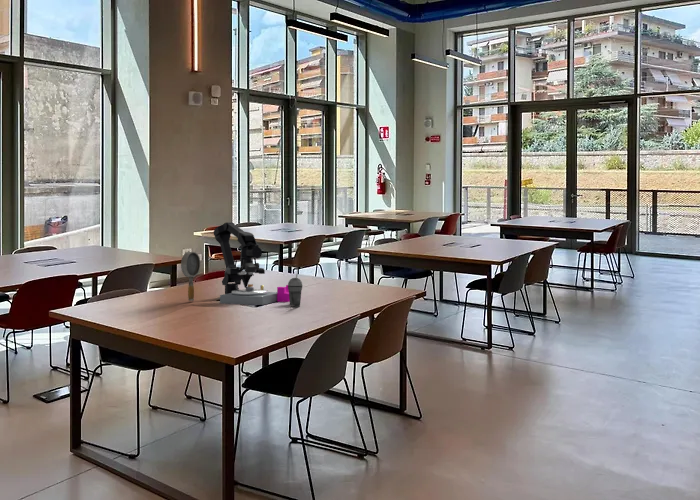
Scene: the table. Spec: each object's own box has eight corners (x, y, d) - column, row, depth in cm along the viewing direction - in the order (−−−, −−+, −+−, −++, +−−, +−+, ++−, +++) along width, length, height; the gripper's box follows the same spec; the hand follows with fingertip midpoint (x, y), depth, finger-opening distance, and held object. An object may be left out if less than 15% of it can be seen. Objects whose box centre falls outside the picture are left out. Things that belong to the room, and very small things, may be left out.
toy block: (288, 302, 325) (288, 287, 325) (277, 301, 327) (277, 287, 327) (298, 299, 340) (298, 285, 340) (287, 298, 341) (287, 284, 341)
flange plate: (233, 291, 334) (233, 284, 334) (268, 291, 336) (268, 284, 336) (230, 295, 315) (230, 287, 315) (267, 294, 317) (267, 287, 317)
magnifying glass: (195, 299, 337) (195, 251, 336) (200, 299, 336) (200, 251, 335) (181, 301, 324) (180, 252, 324) (186, 301, 323) (186, 252, 323)
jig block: (220, 303, 318) (220, 295, 318) (241, 298, 340) (241, 291, 340) (262, 304, 311) (262, 296, 311) (281, 300, 333) (281, 292, 333)
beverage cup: (287, 308, 318) (288, 268, 317) (302, 308, 318) (302, 268, 317) (287, 310, 310) (287, 269, 310) (302, 310, 311) (302, 269, 310)
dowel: (259, 292, 333) (259, 285, 333) (261, 292, 335) (261, 285, 335) (262, 292, 333) (262, 285, 333) (264, 292, 334) (264, 285, 334)
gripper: (234, 258, 320) (233, 289, 321) (269, 258, 330) (268, 288, 330) (226, 257, 330) (226, 287, 330) (260, 257, 340) (260, 286, 340)
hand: (245, 287), depth 332 cm, fingers closed
